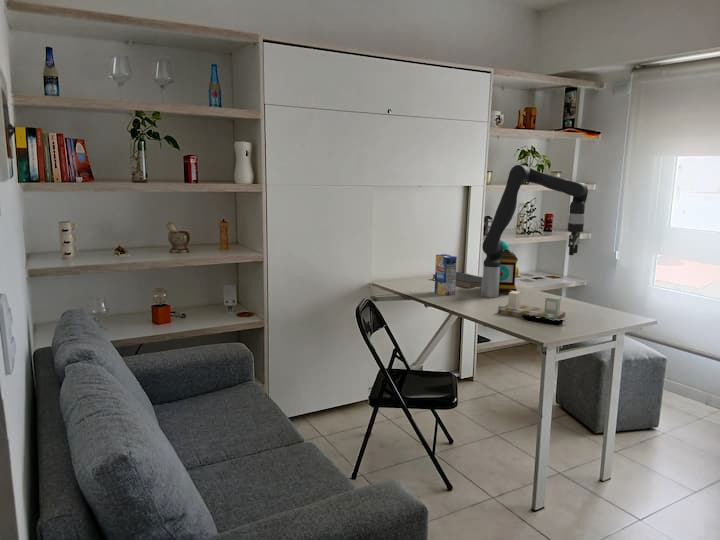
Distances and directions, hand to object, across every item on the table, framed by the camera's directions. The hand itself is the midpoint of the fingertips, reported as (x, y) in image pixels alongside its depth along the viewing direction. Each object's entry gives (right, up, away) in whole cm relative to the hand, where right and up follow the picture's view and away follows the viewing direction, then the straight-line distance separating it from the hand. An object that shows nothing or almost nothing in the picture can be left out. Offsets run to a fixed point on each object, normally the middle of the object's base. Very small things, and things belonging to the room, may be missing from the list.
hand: (573, 254), depth 284 cm
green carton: (-16, -29, -15) cm, 36 cm away
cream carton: (-31, -27, -4) cm, 41 cm away
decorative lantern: (-26, -21, +45) cm, 56 cm away
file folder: (-42, -16, +71) cm, 84 cm away
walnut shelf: (-24, -30, -9) cm, 39 cm away
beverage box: (-60, -22, +36) cm, 73 cm away
